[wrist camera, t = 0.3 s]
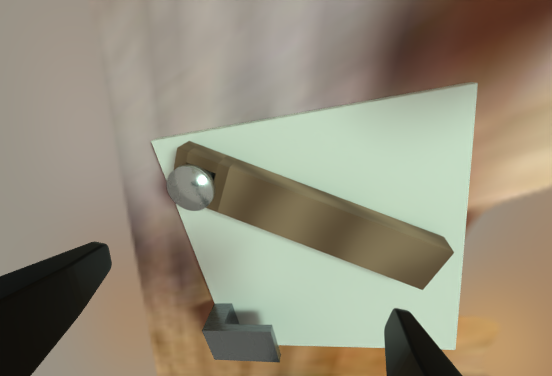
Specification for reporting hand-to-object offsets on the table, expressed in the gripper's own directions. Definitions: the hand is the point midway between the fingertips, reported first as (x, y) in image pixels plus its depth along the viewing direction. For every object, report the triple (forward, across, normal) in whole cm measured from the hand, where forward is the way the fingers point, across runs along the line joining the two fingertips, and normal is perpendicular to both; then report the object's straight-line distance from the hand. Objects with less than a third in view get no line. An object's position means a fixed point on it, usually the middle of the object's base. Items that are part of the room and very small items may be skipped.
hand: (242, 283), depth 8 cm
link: (+12, -2, +4) cm, 13 cm away
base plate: (+13, -3, +8) cm, 16 cm away
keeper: (+13, +2, +18) cm, 22 cm away
